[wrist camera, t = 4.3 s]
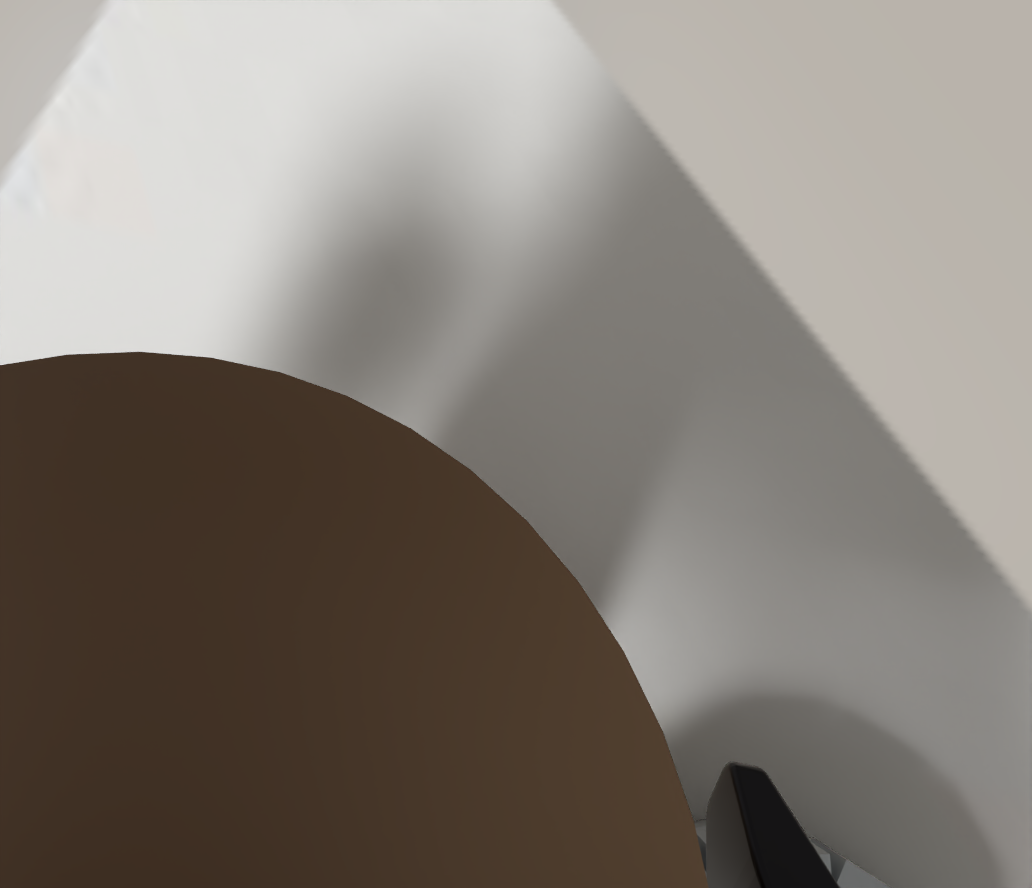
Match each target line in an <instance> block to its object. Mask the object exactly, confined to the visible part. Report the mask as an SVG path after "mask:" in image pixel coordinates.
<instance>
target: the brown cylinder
mask: <svg viewBox="0 0 1032 888" xmlns="http://www.w3.org/2000/svg"><path fill="white" fill-rule="evenodd" d="M0 888H709V887H708V883H707V878H706V874H705V869H704V865H703V860H702V856H701V851H700V847H699V842H698V838H697V833H696V829H695V824H694V820H693V817H692V815H691V812H690V809H689V806H688V803H687V800H686V797H685V794H684V792H683V789H682V786H681V783H680V780H679V777H678V774H677V771H676V768H675V766H674V763H673V760H672V757H671V754H670V751H669V748H668V745H667V742H666V740H665V737H664V734H663V731H662V729H661V727H660V725H659V723H658V721H657V719H656V717H655V715H654V713H653V711H652V709H651V707H650V704H649V702H648V700H647V698H646V696H645V694H644V692H643V690H642V688H641V686H640V684H639V682H638V680H637V678H636V676H635V674H634V672H633V670H632V668H631V665H630V663H629V661H628V659H627V657H626V655H625V653H624V651H623V650H622V648H621V647H620V645H619V644H618V642H617V640H616V639H615V637H614V636H613V634H612V633H611V631H610V630H609V628H608V627H607V625H606V624H605V622H604V620H603V619H602V617H601V616H600V614H599V613H598V611H597V610H596V608H595V607H594V605H593V604H592V602H591V600H590V599H589V597H588V596H587V594H586V593H585V591H584V590H583V588H582V587H581V585H580V584H579V582H578V581H577V580H576V578H575V577H574V576H573V575H572V574H571V572H570V571H569V570H568V569H567V568H566V567H565V565H564V564H563V563H562V562H561V561H560V559H559V558H558V557H557V556H556V555H555V554H554V552H553V551H552V550H551V549H550V548H549V547H548V545H547V544H546V543H545V542H544V541H543V539H542V538H541V537H540V536H539V535H538V534H537V532H536V531H535V530H534V529H533V528H532V526H531V525H530V524H529V523H528V522H527V521H526V520H525V519H524V518H523V517H522V516H521V515H520V514H519V513H518V512H516V511H515V510H514V509H513V508H512V507H511V506H510V505H509V504H508V503H506V502H505V501H504V500H503V499H502V498H501V497H500V496H499V495H498V494H497V493H495V492H494V491H493V490H492V489H491V488H490V487H489V486H488V485H487V484H486V483H484V482H483V481H482V480H481V479H480V478H479V477H478V476H477V475H476V474H475V473H473V472H472V471H471V470H470V469H469V468H467V467H466V466H464V465H463V464H461V463H460V462H458V461H457V460H455V459H454V458H453V457H451V456H450V455H448V454H447V453H445V452H444V451H442V450H441V449H440V448H438V447H437V446H435V445H434V444H432V443H431V442H429V441H428V440H427V439H425V438H424V437H422V436H421V435H419V434H418V433H416V432H415V431H413V430H412V429H411V428H409V427H407V426H405V425H403V424H401V423H399V422H397V421H395V420H393V419H391V418H389V417H387V416H385V415H383V414H381V413H379V412H377V411H375V410H373V409H371V408H369V407H368V406H366V405H364V404H362V403H360V402H358V401H356V400H354V399H352V398H350V397H348V396H346V395H343V394H340V393H337V392H334V391H331V390H329V389H326V388H323V387H320V386H317V385H314V384H312V383H309V382H306V381H303V380H300V379H297V378H295V377H292V376H289V375H286V374H283V373H280V372H276V371H271V370H266V369H262V368H257V367H252V366H247V365H243V364H238V363H233V362H229V361H224V360H219V359H214V358H208V357H196V356H183V355H171V354H159V353H147V352H125V353H100V354H75V355H63V356H57V357H50V358H44V359H38V360H31V361H25V362H19V363H12V364H6V365H0Z"/></svg>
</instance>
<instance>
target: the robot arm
mask: <svg viewBox="0 0 1032 888" xmlns="http://www.w3.org/2000/svg"><path fill="white" fill-rule="evenodd" d="M706 878H707V883H708V887H709V888H840V886H839V885H838V883H837V882H836V880H835V879H834V877H833V876H832V874H831V872H830V871H829V869H828V868H827V866H826V865H825V863H824V862H823V860H822V858H821V857H820V855H819V854H818V852H817V851H816V849H815V848H814V846H813V844H812V843H811V841H810V840H809V838H808V837H807V835H806V834H805V832H804V830H803V829H802V827H801V826H800V824H799V823H798V821H797V820H796V818H795V816H794V815H793V813H792V812H791V810H790V809H789V807H788V806H787V804H786V802H785V801H784V799H783V798H782V796H781V795H780V793H779V792H778V790H777V788H776V787H775V785H774V784H773V782H772V781H771V779H770V778H769V776H768V775H767V773H766V772H765V771H764V770H763V769H761V768H759V767H757V766H752V765H748V764H743V763H738V762H729V763H727V764H726V765H725V767H724V768H723V770H722V773H721V775H720V777H719V779H718V782H717V784H716V786H715V788H714V791H713V793H712V795H711V798H710V800H709V803H708V807H707V813H706Z"/></svg>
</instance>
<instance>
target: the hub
mask: <svg viewBox="0 0 1032 888" xmlns="http://www.w3.org/2000/svg"><path fill="white" fill-rule="evenodd" d="M694 824H695V829H696V833H697V838H698V842H699V847H700V851H701V856H702V860H703V865H704V869H705V874H706V820H699V821H694ZM808 838H809V837H808ZM809 840H810V841H811V843H812V844H813V846H814V848H815V849H816V851H817V852H818V854H819V855H820V857H821V858H822V860H823V862H824V863H825V865H826V866H827V868H828V869H829V871H830V872H831V874H832V876H833V877H834V879H835V880H836V882H837V883H838V885H839V886H840V888H892V887H890V886H888V885H887V884H885V883H884V882H882V881H881V880H879V879H877V878H876V877H874V876H873V875H871V874H870V873H868V872H866V871H865V870H863V869H862V868H860V867H859V866H857V865H856V864H854V863H853V862H851V861H850V860H848V859H846V858H845V857H843V856H842V855H840V854H839V853H837V852H835V851H834V850H832V849H830V848H829V847H827V846H826V845H824V844H822V843H821V842H819V841H818V840H816V839H815V838H813V837H812V838H809Z"/></svg>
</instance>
